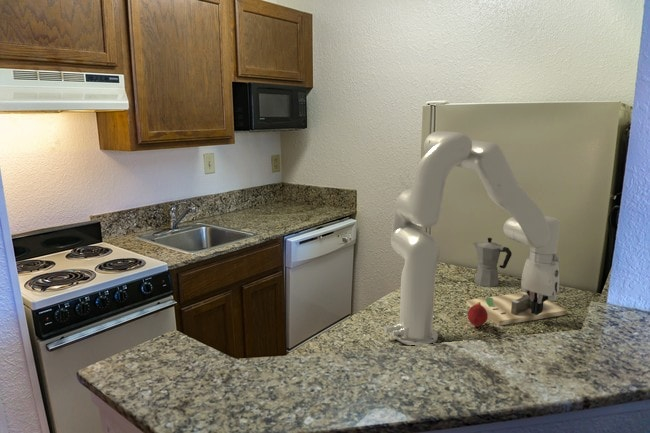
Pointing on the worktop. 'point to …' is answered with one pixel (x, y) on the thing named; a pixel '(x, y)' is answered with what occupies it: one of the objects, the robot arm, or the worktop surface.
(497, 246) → the coffeepot
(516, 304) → the dial
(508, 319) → the tuner board
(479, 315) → the onion
